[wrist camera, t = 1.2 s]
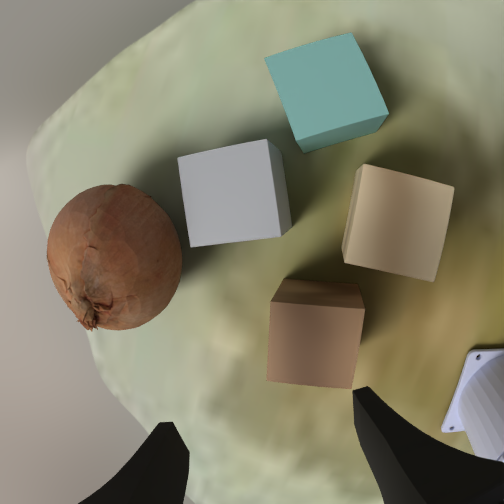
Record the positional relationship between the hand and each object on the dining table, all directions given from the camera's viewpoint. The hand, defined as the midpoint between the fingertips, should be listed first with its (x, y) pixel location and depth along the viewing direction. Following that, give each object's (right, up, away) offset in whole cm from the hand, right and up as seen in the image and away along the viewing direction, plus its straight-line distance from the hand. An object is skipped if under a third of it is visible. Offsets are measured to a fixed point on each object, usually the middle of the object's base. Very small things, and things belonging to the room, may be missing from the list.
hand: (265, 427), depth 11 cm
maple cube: (+8, +9, +8) cm, 15 cm away
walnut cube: (+4, +2, +10) cm, 11 cm away
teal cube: (+4, +16, +8) cm, 19 cm away
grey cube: (-1, +11, +10) cm, 15 cm away
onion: (-8, +7, +13) cm, 17 cm away
